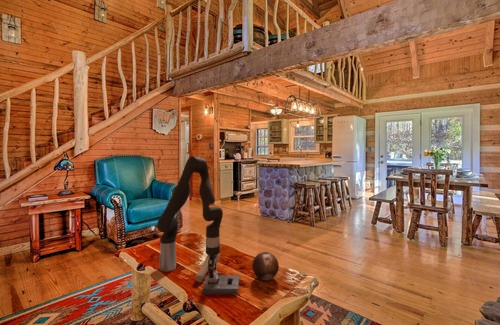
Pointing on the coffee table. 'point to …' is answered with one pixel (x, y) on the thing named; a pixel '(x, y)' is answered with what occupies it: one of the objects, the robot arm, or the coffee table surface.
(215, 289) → the socket plate
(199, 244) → the coffee table surface
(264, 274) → the wooden sphere
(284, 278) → the coffee table surface
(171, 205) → the robot arm
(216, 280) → the block
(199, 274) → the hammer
